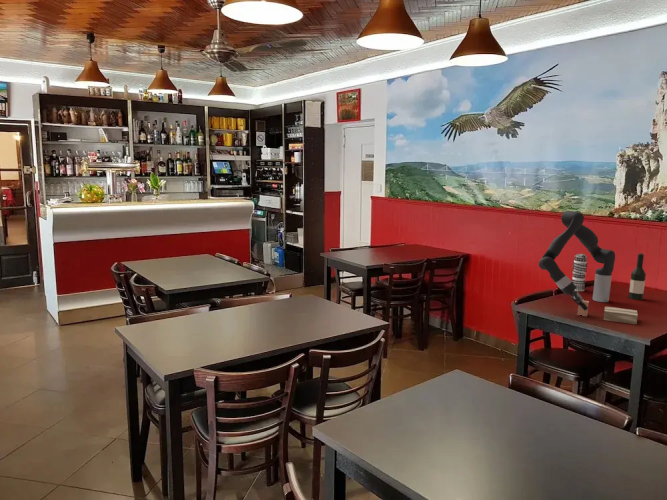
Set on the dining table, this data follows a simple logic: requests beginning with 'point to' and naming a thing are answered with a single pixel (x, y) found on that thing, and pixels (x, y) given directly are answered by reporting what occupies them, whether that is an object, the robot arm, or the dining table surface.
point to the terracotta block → (581, 310)
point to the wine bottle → (637, 280)
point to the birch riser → (620, 315)
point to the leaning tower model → (579, 271)
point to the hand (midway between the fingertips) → (586, 308)
